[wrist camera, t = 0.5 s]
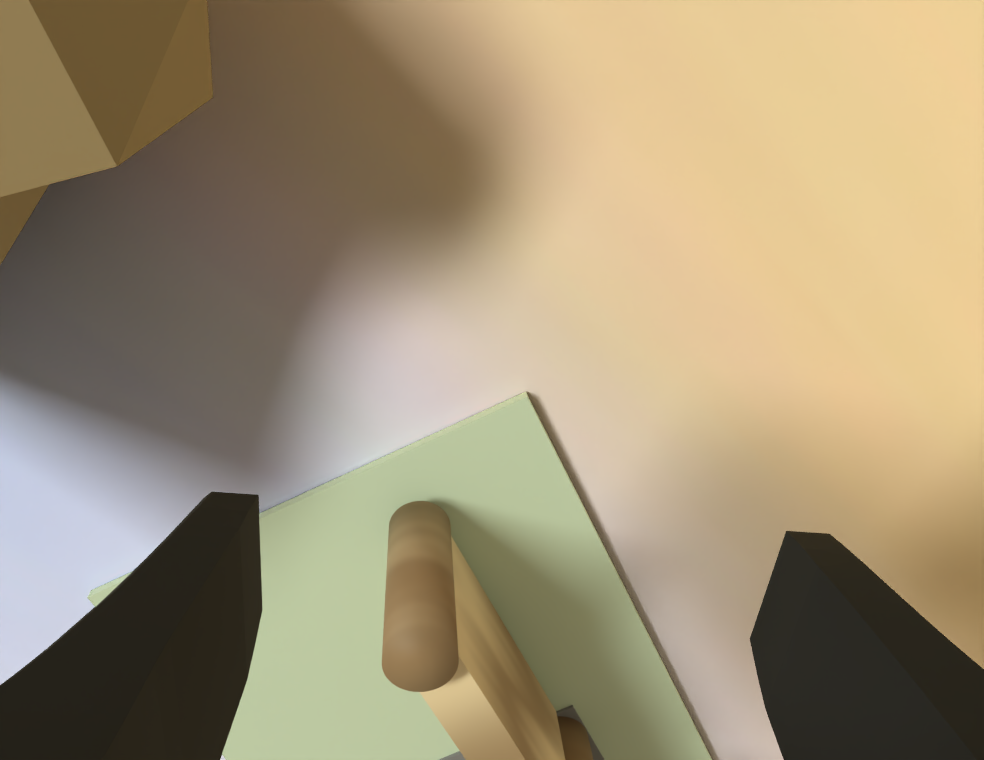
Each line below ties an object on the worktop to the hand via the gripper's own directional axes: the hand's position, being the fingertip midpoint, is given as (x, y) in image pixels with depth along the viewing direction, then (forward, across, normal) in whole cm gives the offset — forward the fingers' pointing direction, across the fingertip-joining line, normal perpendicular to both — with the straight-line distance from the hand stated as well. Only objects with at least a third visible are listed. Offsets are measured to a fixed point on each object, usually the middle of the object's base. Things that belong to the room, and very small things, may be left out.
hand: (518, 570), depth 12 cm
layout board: (+9, -1, +16) cm, 18 cm away
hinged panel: (+9, 0, +9) cm, 13 cm away
